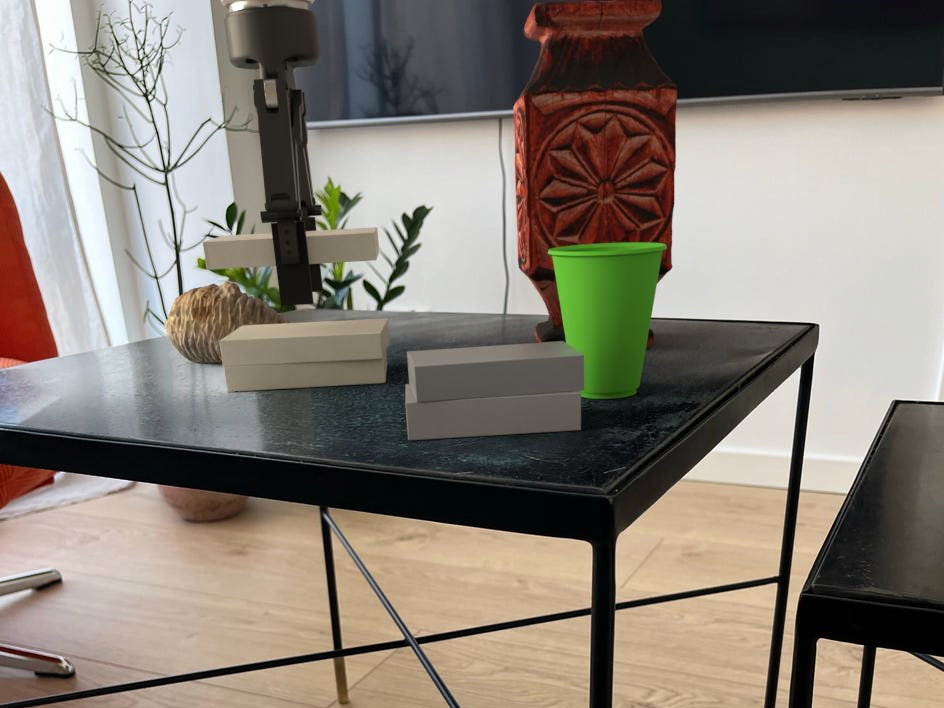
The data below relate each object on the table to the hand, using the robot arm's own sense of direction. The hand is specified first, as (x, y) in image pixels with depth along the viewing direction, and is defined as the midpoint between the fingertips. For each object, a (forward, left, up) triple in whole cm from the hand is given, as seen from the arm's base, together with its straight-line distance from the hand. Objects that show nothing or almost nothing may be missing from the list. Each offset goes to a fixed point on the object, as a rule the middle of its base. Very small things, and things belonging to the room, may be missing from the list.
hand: (303, 297), depth 91 cm
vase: (+28, +11, -7) cm, 31 cm away
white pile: (0, 0, -7) cm, 7 cm away
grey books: (+15, -24, -7) cm, 29 cm away
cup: (+25, -15, -7) cm, 30 cm away
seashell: (-10, +15, -7) cm, 19 cm away
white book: (0, 0, +3) cm, 3 cm away
